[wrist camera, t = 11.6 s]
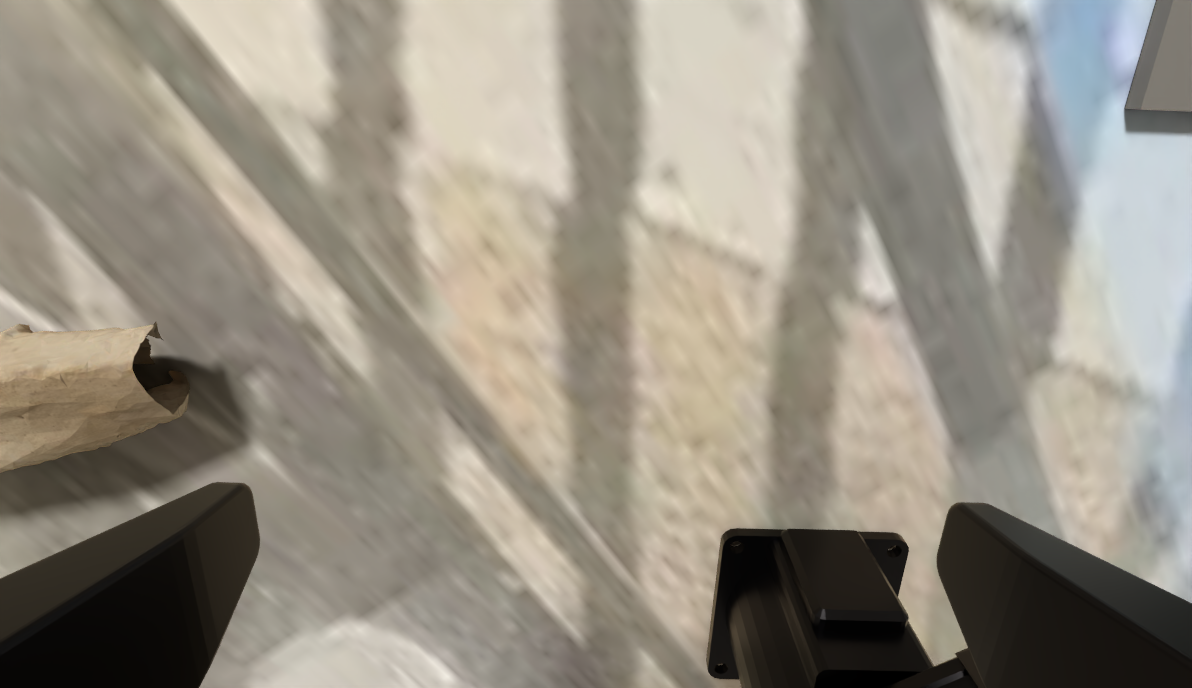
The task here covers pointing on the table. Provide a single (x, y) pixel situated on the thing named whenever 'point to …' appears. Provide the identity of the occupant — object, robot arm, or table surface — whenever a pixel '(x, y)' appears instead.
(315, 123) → the table surface
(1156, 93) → the mat
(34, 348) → the bone fragment
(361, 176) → the table surface
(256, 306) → the table surface
